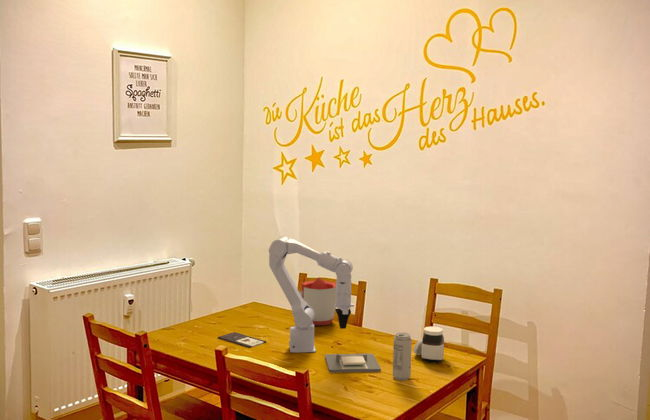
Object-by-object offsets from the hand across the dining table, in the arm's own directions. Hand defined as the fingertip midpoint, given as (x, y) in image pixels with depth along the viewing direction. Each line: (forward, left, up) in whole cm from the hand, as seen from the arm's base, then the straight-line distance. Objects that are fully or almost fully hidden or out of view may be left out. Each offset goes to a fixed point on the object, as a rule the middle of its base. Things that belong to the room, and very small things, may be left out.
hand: (342, 328), depth 247 cm
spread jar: (+31, -8, -10) cm, 33 cm away
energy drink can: (+17, -27, -10) cm, 33 cm away
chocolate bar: (-38, +16, -10) cm, 43 cm away
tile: (+2, -15, -7) cm, 17 cm away
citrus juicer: (-6, +40, -10) cm, 42 cm away
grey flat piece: (+2, -13, -9) cm, 16 cm away
